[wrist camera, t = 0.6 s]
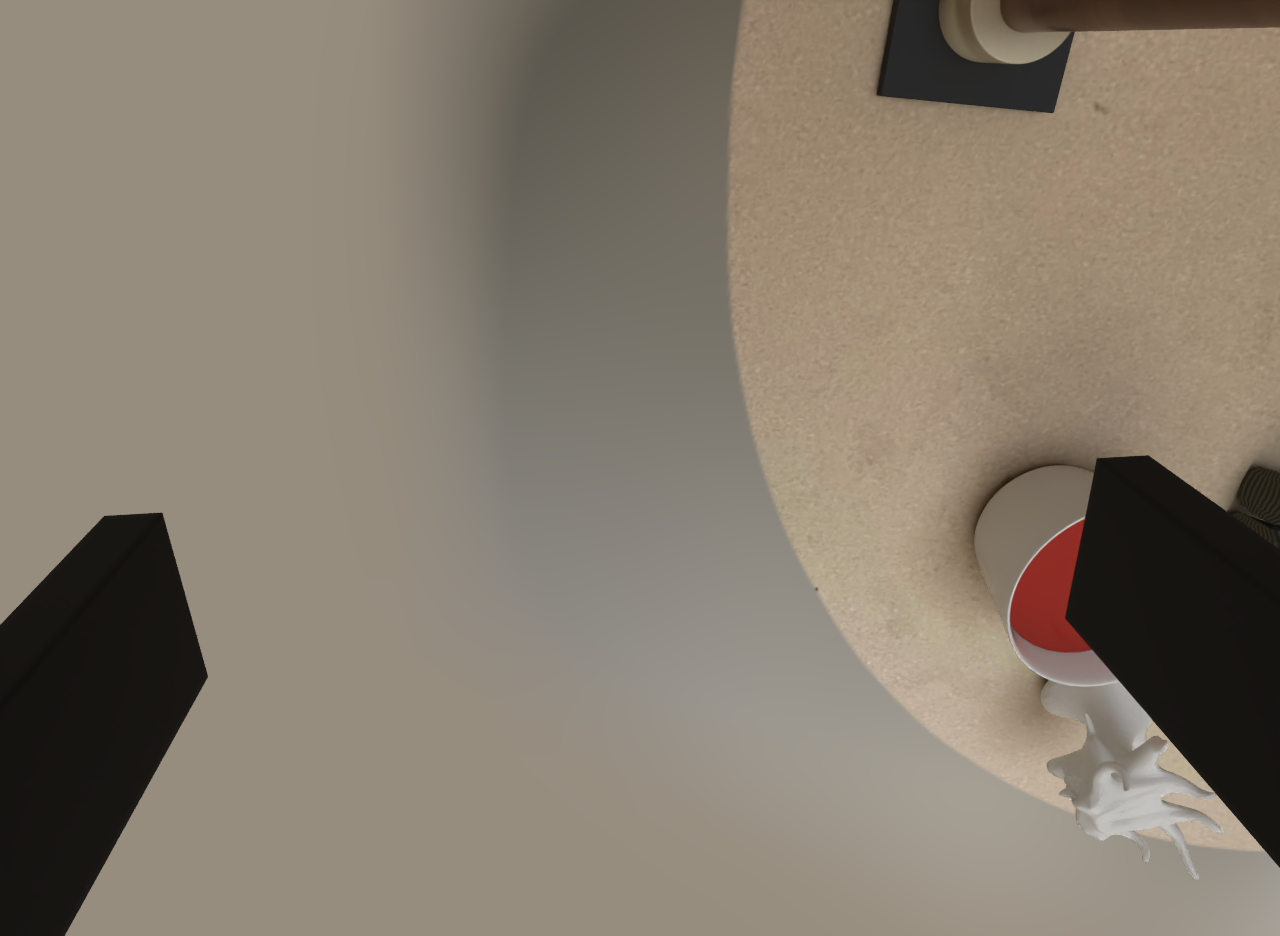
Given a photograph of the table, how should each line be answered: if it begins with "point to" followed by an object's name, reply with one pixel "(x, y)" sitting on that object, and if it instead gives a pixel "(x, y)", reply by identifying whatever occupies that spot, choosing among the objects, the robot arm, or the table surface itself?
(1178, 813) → the figurine
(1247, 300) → the table surface
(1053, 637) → the candle
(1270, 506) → the toy
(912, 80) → the mat
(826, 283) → the table surface
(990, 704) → the table surface
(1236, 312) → the table surface
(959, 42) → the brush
